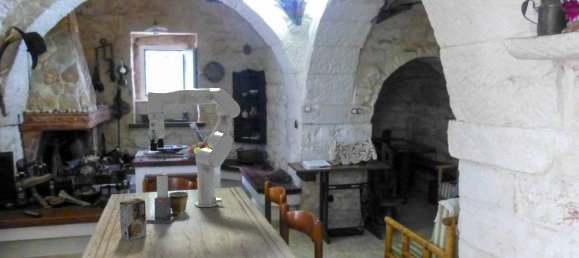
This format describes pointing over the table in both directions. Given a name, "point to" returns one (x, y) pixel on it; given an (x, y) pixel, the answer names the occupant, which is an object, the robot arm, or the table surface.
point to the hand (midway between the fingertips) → (157, 149)
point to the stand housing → (162, 211)
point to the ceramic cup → (178, 202)
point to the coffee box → (132, 219)
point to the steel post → (162, 185)
